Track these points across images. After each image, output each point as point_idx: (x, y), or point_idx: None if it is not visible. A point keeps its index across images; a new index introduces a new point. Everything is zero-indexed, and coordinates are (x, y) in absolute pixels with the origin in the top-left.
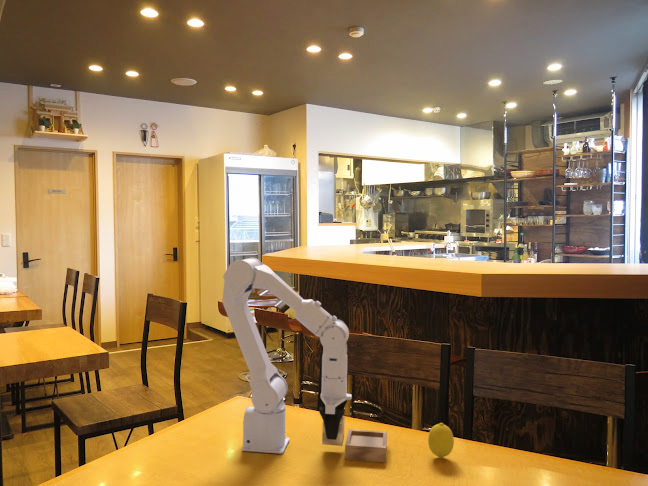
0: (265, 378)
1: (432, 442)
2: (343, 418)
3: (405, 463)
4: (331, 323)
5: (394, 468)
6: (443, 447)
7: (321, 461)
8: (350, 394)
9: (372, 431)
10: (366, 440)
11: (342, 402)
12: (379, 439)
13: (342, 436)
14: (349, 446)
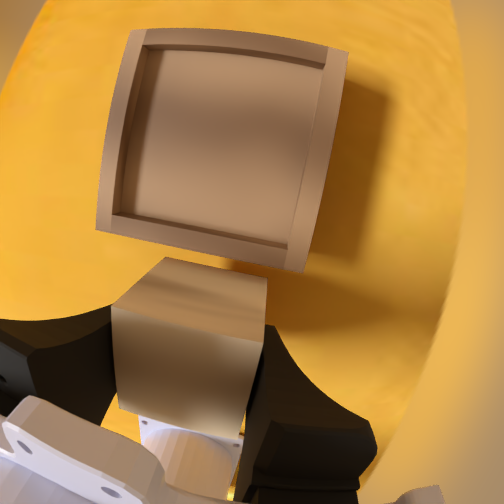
0: None
1: None
2: (150, 320)
3: (338, 8)
4: None
5: (384, 58)
6: None
7: (306, 340)
8: (17, 438)
9: (120, 99)
10: (199, 137)
11: (48, 381)
12: (188, 68)
13: (256, 295)
14: (308, 248)
